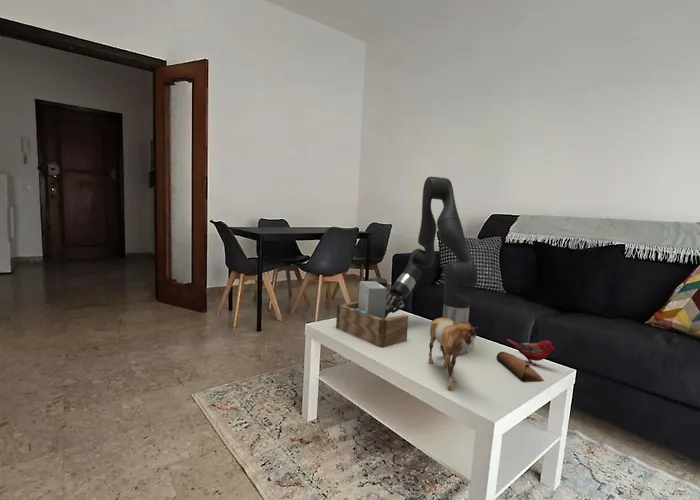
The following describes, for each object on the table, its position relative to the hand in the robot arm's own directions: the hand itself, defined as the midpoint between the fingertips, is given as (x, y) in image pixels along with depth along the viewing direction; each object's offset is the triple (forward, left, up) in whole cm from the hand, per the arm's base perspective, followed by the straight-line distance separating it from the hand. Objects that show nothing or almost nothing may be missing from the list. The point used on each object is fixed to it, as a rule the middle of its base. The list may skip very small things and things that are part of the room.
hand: (381, 318), depth 167 cm
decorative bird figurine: (-52, -21, -6) cm, 57 cm away
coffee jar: (+17, -13, -6) cm, 22 cm away
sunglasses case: (-54, -12, -6) cm, 56 cm away
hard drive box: (+2, +4, -6) cm, 8 cm away
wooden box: (0, +6, -6) cm, 8 cm away
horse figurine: (-43, +10, -6) cm, 44 cm away
